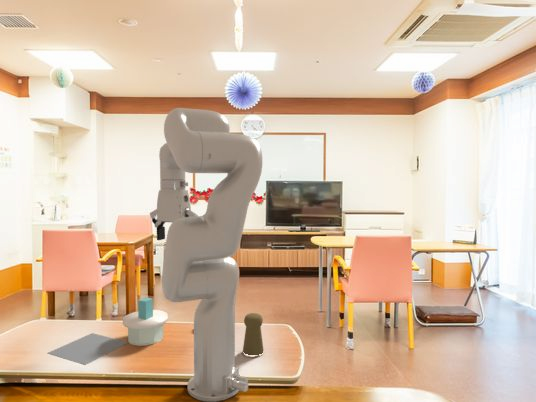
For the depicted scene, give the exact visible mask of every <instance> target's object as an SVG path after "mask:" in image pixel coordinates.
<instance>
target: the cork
mask: <svg viewBox="0 0 536 402" xmlns="http://www.w3.org/2000/svg"><path fill="white" fill-rule="evenodd" d="M243 322H244V326H245V333H244V339H243V345H242V347H243V348H242V353H243V352H244V353H245V354H248V355H259V354H262V353H263V351H264V341H263V336H262V335H263V334H262V325H263V322H264V321H263V316H262V315H261V314H260V313H256V312H251V313H248V314H246V315H245V317H244V319H243ZM264 352H265V351H264Z"/></svg>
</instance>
